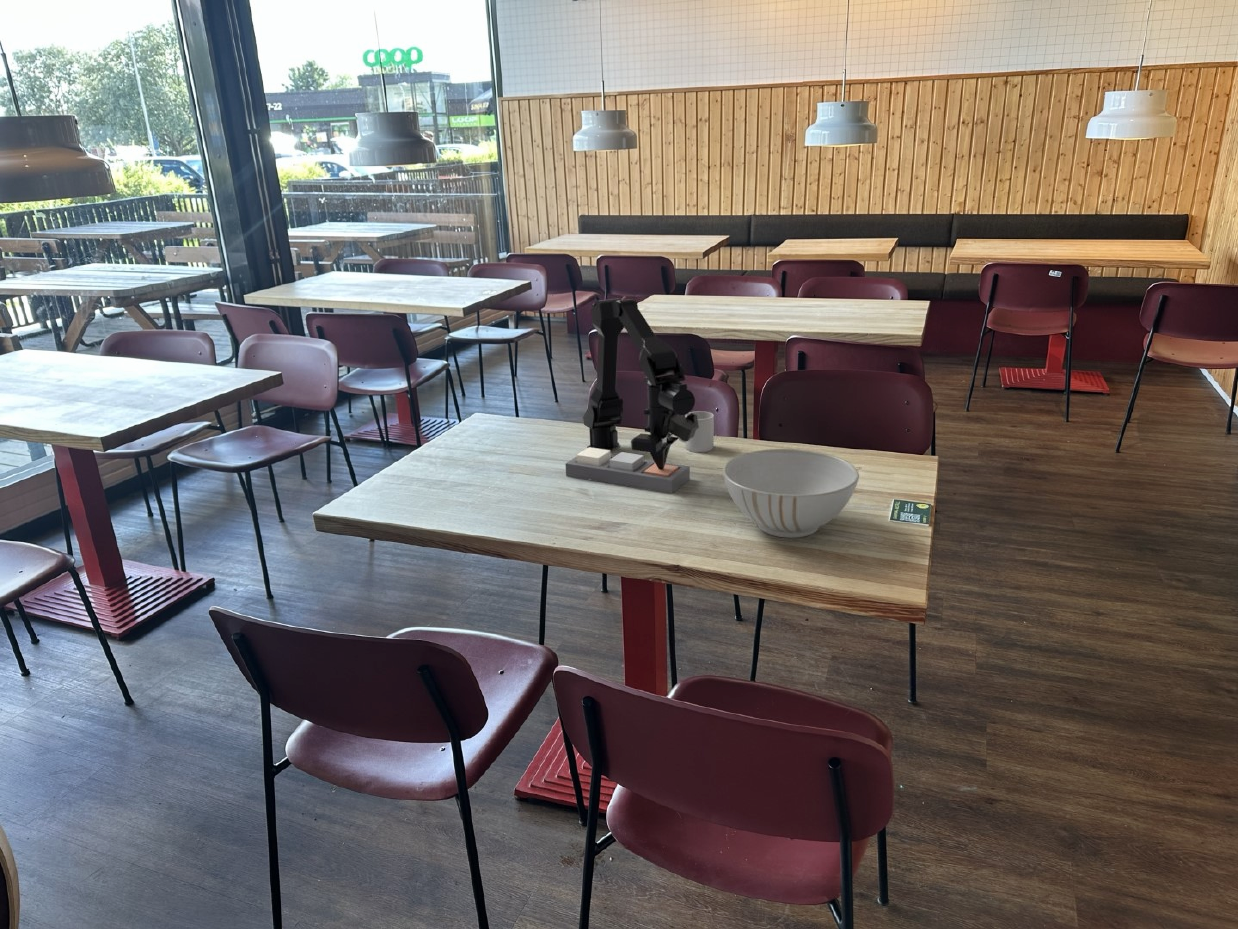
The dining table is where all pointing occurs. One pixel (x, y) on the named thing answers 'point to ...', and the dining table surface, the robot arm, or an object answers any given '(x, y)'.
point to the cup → (702, 433)
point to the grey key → (627, 461)
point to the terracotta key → (664, 472)
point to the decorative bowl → (790, 489)
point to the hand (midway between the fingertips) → (661, 468)
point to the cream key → (594, 456)
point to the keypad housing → (630, 475)
